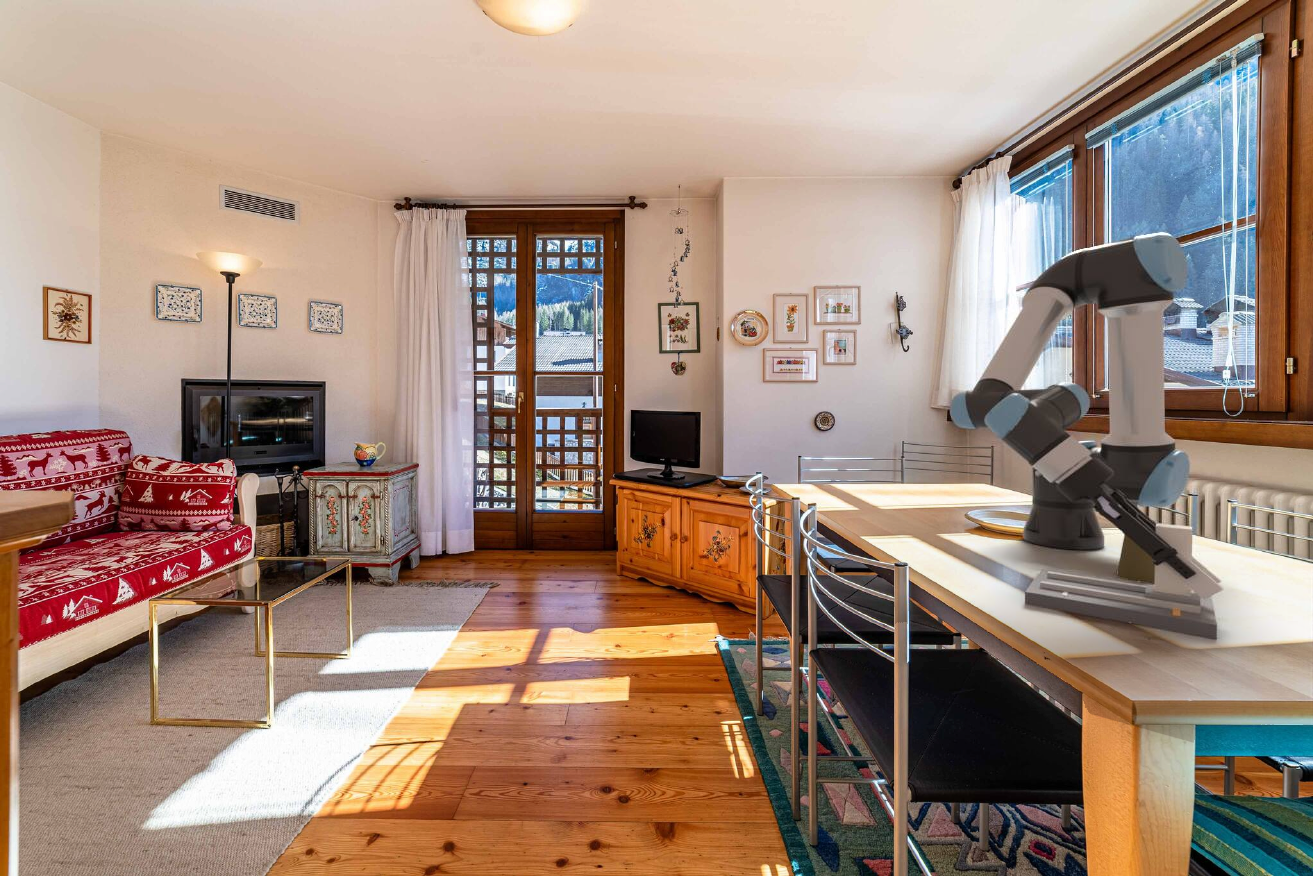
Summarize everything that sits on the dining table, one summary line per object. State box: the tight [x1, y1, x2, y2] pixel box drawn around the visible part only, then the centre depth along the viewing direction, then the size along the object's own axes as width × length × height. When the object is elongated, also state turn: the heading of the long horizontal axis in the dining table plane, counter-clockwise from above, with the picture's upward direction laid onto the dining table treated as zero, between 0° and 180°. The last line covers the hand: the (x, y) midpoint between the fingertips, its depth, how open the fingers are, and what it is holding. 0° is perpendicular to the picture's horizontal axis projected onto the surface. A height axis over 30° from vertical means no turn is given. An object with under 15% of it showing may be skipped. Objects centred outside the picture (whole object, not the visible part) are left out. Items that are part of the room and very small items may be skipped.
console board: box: [1024, 568, 1218, 640], centre depth 89 cm, size 16×22×3 cm
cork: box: [1116, 520, 1157, 584], centre depth 102 cm, size 6×6×11 cm
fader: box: [1145, 522, 1200, 606], centre depth 84 cm, size 5×6×11 cm
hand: (1212, 589), depth 82 cm, fingers open, 4 cm apart
